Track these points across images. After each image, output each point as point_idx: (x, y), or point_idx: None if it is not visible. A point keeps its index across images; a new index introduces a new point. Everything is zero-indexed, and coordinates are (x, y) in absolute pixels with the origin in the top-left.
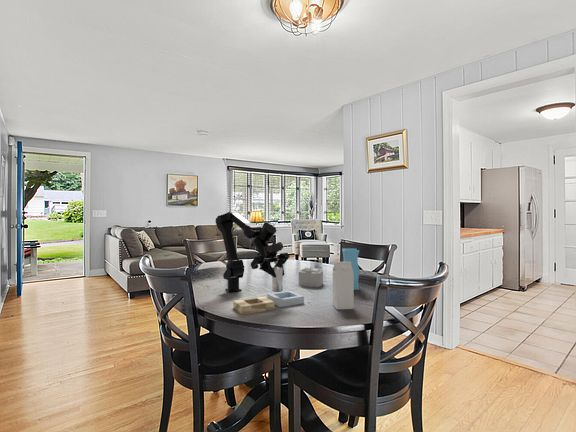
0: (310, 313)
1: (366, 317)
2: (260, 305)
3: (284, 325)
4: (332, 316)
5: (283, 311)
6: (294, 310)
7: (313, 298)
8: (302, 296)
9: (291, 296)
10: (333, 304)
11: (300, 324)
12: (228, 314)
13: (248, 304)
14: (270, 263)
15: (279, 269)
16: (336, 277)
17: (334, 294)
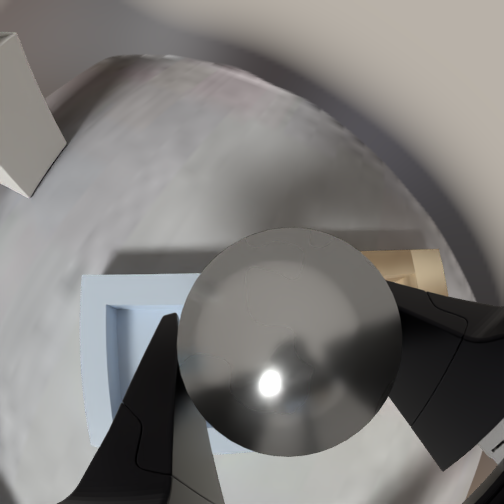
0: (168, 145)
1: (73, 79)
2: (370, 252)
3: (310, 107)
4: (130, 101)
5: (259, 215)
6: (204, 203)
7: (23, 332)
8: (90, 275)
9: (116, 386)
10: (35, 183)
11: (262, 92)
12: (452, 286)
13: (418, 273)
14: (500, 335)
15: (293, 233)
16: (22, 48)
17: (26, 139)
